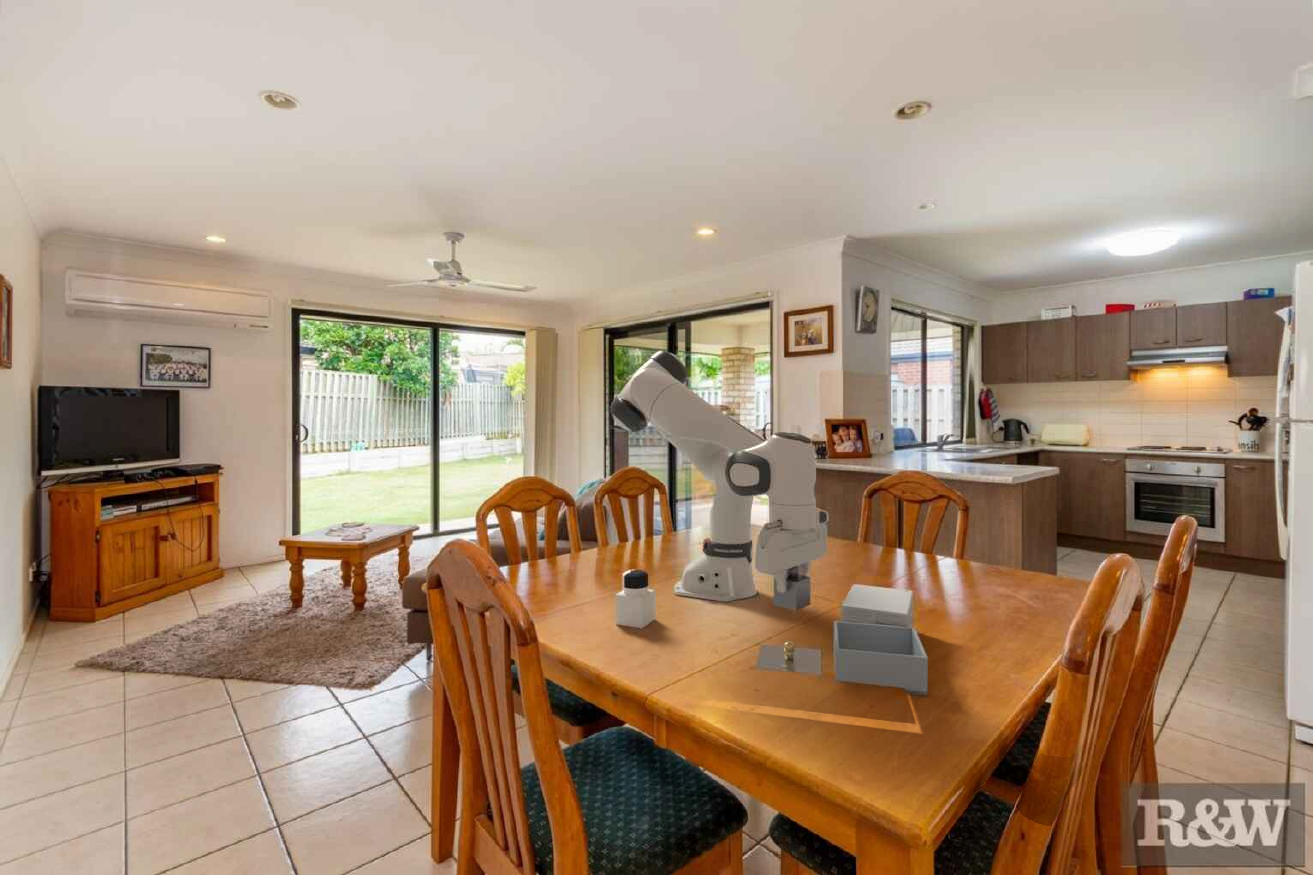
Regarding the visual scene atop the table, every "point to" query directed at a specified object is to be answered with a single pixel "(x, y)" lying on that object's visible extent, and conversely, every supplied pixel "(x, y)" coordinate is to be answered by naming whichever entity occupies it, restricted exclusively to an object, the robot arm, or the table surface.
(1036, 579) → the table surface
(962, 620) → the table surface
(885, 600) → the supplement box
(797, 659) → the stud base
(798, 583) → the strut socket
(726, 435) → the robot arm
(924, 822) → the table surface
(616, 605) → the medicine bottle
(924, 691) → the bin
